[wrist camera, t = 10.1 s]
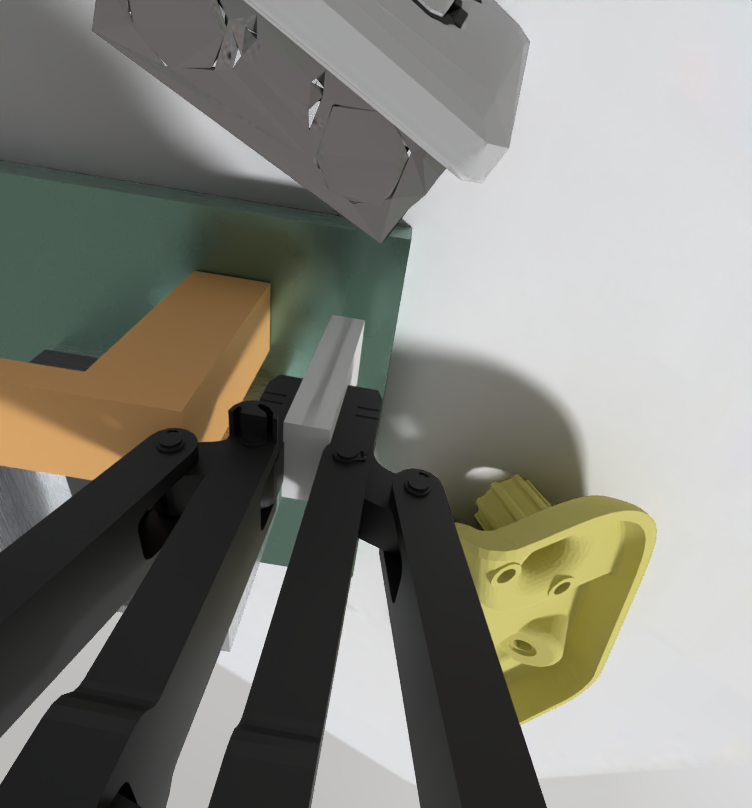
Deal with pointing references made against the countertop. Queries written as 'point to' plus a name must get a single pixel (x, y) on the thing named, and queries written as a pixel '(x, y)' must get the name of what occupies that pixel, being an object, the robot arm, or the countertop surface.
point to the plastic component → (554, 585)
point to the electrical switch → (341, 87)
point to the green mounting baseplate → (159, 275)
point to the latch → (140, 381)
